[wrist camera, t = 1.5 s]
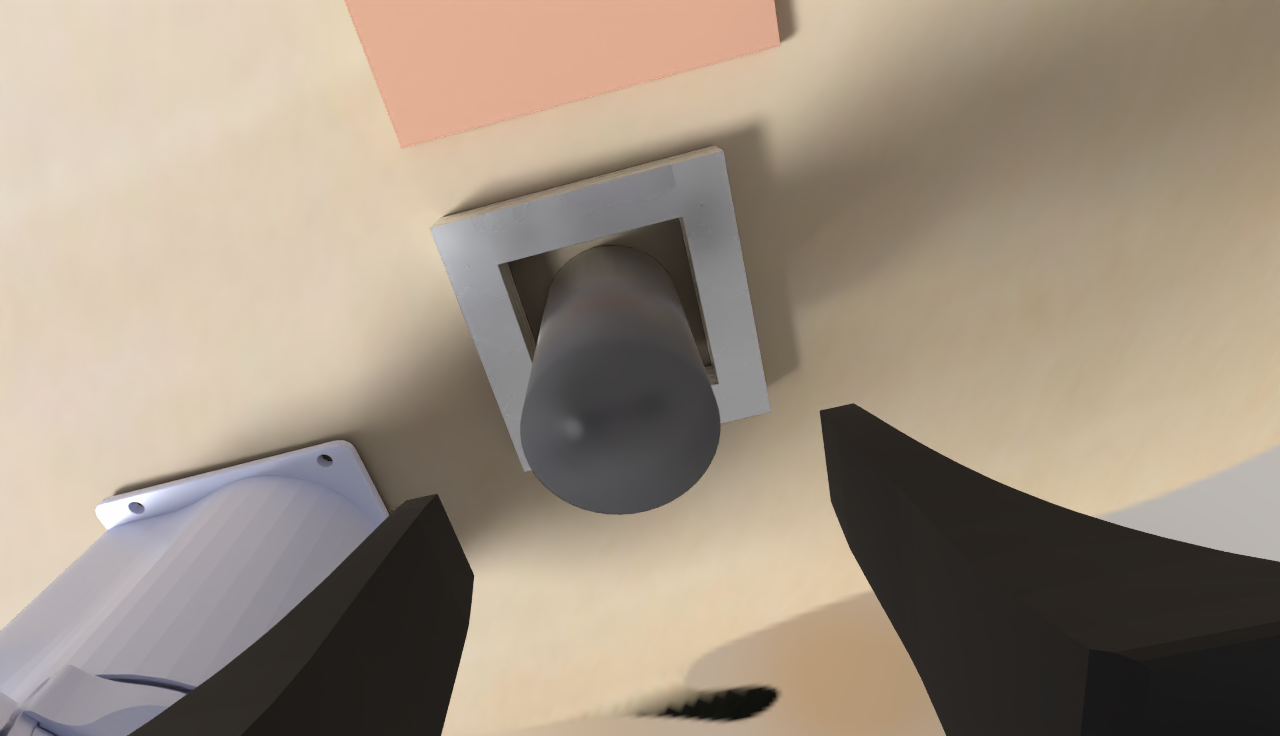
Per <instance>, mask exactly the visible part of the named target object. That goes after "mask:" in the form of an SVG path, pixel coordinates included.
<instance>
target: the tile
mask: <svg viewBox="0 0 1280 736" xmlns="http://www.w3.org/2000/svg"><path fill="white" fill-rule="evenodd" d="M344 1H345V3H346V6H347V8H348V11H349V14H350V16H351V19H352V21H353V24H354V27H355V29H356V32H357V34H358V37H359V40H360V42H361V45H362V47H363V50H364V53H365V55H366V58H367V60H368V63H369V65H370V68H371V71H372V73H373V76H374V78H375V81H376V84H377V86H378V89H379V91H380V94H381V97H382V99H383V102H384V104H385V107H386V110H387V112H388V115H389V117H390V120H391V123H392V125H393V128H394V130H395V133H396V136H397V138H398V141H399V143H400V146H401V148H404V147H408V146H412V145H416V144H419V143H423V142H427V141H430V140H434V139H438V138H441V137H445V136H449V135H452V134H456V133H460V132H464V131H467V130H471V129H475V128H478V127H482V126H486V125H489V124H493V123H497V122H500V121H504V120H508V119H511V118H515V117H519V116H523V115H526V114H530V113H534V112H537V111H541V110H545V109H548V108H552V107H556V106H559V105H563V104H567V103H570V102H574V101H578V100H582V99H585V98H589V97H593V96H596V95H600V94H604V93H607V92H611V91H615V90H618V89H622V88H626V87H630V86H633V85H637V84H641V83H644V82H648V81H652V80H655V79H659V78H663V77H666V76H670V75H674V74H677V73H681V72H685V71H689V70H692V69H696V68H700V67H703V66H707V65H711V64H714V63H718V62H722V61H725V60H729V59H733V58H737V57H740V56H744V55H748V54H751V53H755V52H759V51H762V50H766V49H770V48H773V47H777V46H780V39H779V32H778V25H777V17H776V10H775V3H774V0H344Z"/></svg>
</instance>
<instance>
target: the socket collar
mask: <svg viewBox="0 0 1280 736" xmlns="http://www.w3.org/2000/svg"><path fill="white" fill-rule="evenodd" d="M675 218H679V219H680V224H681V228H682V233H683V237H684V242H685V247H686V251H687V256H688V260H689V265H690V269H691V274H692V278H693V283H694V287H695V292H696V297H697V301H698V306H699V310H700V315H701V319H702V324H703V328H704V333H705V337H706V342H707V347H708V351H709V356H710V360H711V365H709V366H705V367H704V368H705V371H706V373H707V376H708V379H709V382H710V384H711V387H712V390H713V393H714V395H715V398H716V401H717V405H718V408H719V414H720V424H723V423H727V422H731V421H735V420H739V419H744V418H748V417H752V416H756V415H760V414H764V413H768V412H771V409H770V403H769V398H768V392H767V387H766V382H765V376H764V371H763V365H762V360H761V354H760V349H759V343H758V338H757V332H756V327H755V321H754V316H753V310H752V305H751V299H750V294H749V289H748V283H747V278H746V272H745V267H744V261H743V256H742V250H741V245H740V239H739V234H738V228H737V223H736V217H735V212H734V206H733V201H732V195H731V190H730V185H729V179H728V174H727V168H726V163H725V157H724V152H723V150H721V149H720V148H718V147H717V146H715V145H713V146H709V147H705V148H702V149H698V150H694V151H690V152H687V153H683V154H679V155H675V156H671V157H668V158H664V159H660V160H656V161H653V162H649V163H645V164H641V165H637V166H634V167H630V168H626V169H622V170H619V171H615V172H611V173H607V174H604V175H600V176H596V177H592V178H588V179H585V180H581V181H577V182H573V183H570V184H566V185H562V186H558V187H555V188H551V189H547V190H543V191H539V192H536V193H532V194H528V195H524V196H521V197H517V198H513V199H509V200H505V201H502V202H498V203H494V204H490V205H487V206H483V207H479V208H475V209H472V210H468V211H464V212H460V213H456V214H453V215H449V216H445V217H441V218H440V219H439V220H438V221H437V222H436V223H435V224H434V225H433V226H432V227H431V228H430V230H431V233H432V235H433V238H434V241H435V243H436V246H437V248H438V251H439V254H440V256H441V259H442V261H443V264H444V266H445V269H446V272H447V274H448V277H449V279H450V282H451V284H452V287H453V290H454V292H455V295H456V297H457V300H458V303H459V305H460V308H461V310H462V313H463V315H464V318H465V321H466V323H467V326H468V328H469V331H470V334H471V336H472V339H473V341H474V344H475V346H476V349H477V352H478V354H479V357H480V359H481V362H482V365H483V367H484V370H485V372H486V375H487V377H488V380H489V383H490V385H491V388H492V390H493V393H494V396H495V398H496V401H497V403H498V406H499V408H500V411H501V414H502V416H503V419H504V421H505V424H506V427H507V429H508V432H509V434H510V437H511V439H512V442H513V445H514V447H515V450H516V452H517V455H518V457H519V460H520V463H521V465H522V468H523V470H524V472H527V471H531V470H532V469H531V468H530V466H529V464H528V462H527V460H526V458H525V455H524V451H523V448H522V444H521V437H520V422H521V416H522V410H523V405H524V401H525V396H526V391H527V387H528V382H529V378H530V373H531V368H532V364H533V359H534V355H535V350H536V343H535V340H534V338H533V335H532V332H531V329H530V326H529V323H528V320H527V317H526V314H525V311H524V308H523V306H522V303H521V300H520V297H519V294H518V291H517V288H516V285H515V282H514V279H513V276H512V273H511V271H510V268H509V265H508V262H510V261H514V260H518V259H521V258H525V257H529V256H533V255H537V254H541V253H544V252H548V251H552V250H556V249H560V248H564V247H567V246H571V245H575V244H579V243H583V242H587V241H591V240H594V239H598V238H602V237H606V236H610V235H614V234H617V233H621V232H625V231H629V230H633V229H637V228H640V227H644V226H648V225H652V224H656V223H660V222H663V221H667V220H671V219H675Z"/></svg>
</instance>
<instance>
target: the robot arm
mask: <svg viewBox="0 0 1280 736" xmlns="http://www.w3.org/2000/svg"><path fill="white" fill-rule="evenodd" d="M820 417H821V425H822V433H823V441H824V449H825V457H826V465H827V473H828V481H829V489H830V497H831V502H832V505H833V507H834V510H835V513H836V515H837V518H838V520H839V523H840V525H841V528H842V530H843V533H844V535H845V538H846V540H847V542H848V545H849V547H850V549H851V551H852V553H853V555H854V557H855V559H856V560H857V562H858V564H859V566H860V568H861V569H862V571H863V573H864V575H865V577H866V578H867V580H868V582H869V584H870V586H871V587H872V589H873V591H874V593H875V594H876V596H877V598H878V600H879V601H880V603H881V605H882V607H883V609H884V610H885V612H886V614H887V616H888V618H889V619H890V621H891V623H892V625H893V627H894V628H895V630H896V632H897V634H898V635H899V637H900V639H901V641H902V642H903V644H904V646H905V648H906V650H907V652H908V653H909V655H910V657H911V659H912V661H913V663H914V665H915V667H916V669H917V671H918V673H919V675H920V677H921V679H922V681H923V683H924V686H925V688H926V690H927V693H928V695H929V697H930V699H931V702H932V704H933V706H934V708H935V710H936V713H937V715H938V717H939V720H940V722H941V724H942V727H943V729H944V731H945V734H946V736H1280V562H1278V561H1272V560H1267V559H1261V558H1256V557H1250V556H1245V555H1239V554H1233V553H1229V552H1224V551H1219V550H1215V549H1211V548H1206V547H1202V546H1198V545H1194V544H1189V543H1185V542H1181V541H1176V540H1172V539H1168V538H1164V537H1160V536H1156V535H1153V534H1149V533H1145V532H1142V531H1138V530H1134V529H1130V528H1127V527H1123V526H1120V525H1117V524H1114V523H1110V522H1107V521H1104V520H1101V519H1098V518H1094V517H1091V516H1088V515H1085V514H1081V513H1078V512H1075V511H1072V510H1069V509H1066V508H1064V507H1061V506H1058V505H1055V504H1052V503H1049V502H1047V501H1044V500H1042V499H1039V498H1037V497H1034V496H1032V495H1029V494H1026V493H1024V492H1021V491H1019V490H1016V489H1014V488H1011V487H1009V486H1006V485H1004V484H1002V483H999V482H997V481H995V480H993V479H990V478H988V477H986V476H984V475H982V474H980V473H978V472H976V471H974V470H971V469H969V468H967V467H965V466H963V465H961V464H959V463H957V462H955V461H953V460H951V459H949V458H947V457H945V456H943V455H941V454H940V453H938V452H936V451H934V450H932V449H930V448H928V447H927V446H925V445H923V444H921V443H920V442H918V441H916V440H914V439H912V438H911V437H909V436H907V435H906V434H904V433H902V432H900V431H899V430H897V429H895V428H894V427H892V426H890V425H889V424H887V423H885V422H884V421H882V420H880V419H879V418H877V417H876V416H874V415H872V414H871V413H869V412H867V411H866V410H864V409H862V408H861V407H859V406H857V405H855V404H854V403H853V404H849V405H844V406H839V407H835V408H830V409H826V410H821V411H820ZM322 455H328V456H330V457H331V458H332V461H327V460H325V459H324V458H323V457H322ZM136 502H138V503H141V504H142V505H143V506H144V507H142V506H140V505H138V504H137V503H136ZM96 514H97V517H98V518H99V519H100V521H101V522H102V523H103V525H104V526H105V527H106V529H107V531H106V532H105V533H104V534H103V535H102V536H101V537H100V538H99V539H98V540H97V541H96V542H95V543H94V544H92V545H91V546H90V547H89V548H88V549H87V550H86V551H85V552H84V553H83V554H82V555H81V556H80V557H79V558H78V559H77V560H75V561H74V562H73V563H72V564H71V565H70V566H69V567H68V568H67V569H66V570H65V571H64V572H63V573H62V574H61V575H59V576H58V577H57V578H56V579H55V580H54V581H53V582H52V583H51V584H50V585H49V586H48V587H47V588H46V589H45V590H44V591H42V592H41V593H40V594H39V595H38V596H37V597H36V598H35V599H34V600H33V601H32V602H31V603H30V604H29V605H28V606H26V607H25V608H24V609H23V610H22V611H21V612H20V613H19V614H18V615H17V616H16V617H15V618H14V619H13V620H12V621H10V622H9V623H8V624H7V625H6V626H5V627H4V628H3V629H2V630H1V631H0V736H441V733H442V729H443V726H444V722H445V718H446V714H447V710H448V706H449V702H450V698H451V695H452V691H453V687H454V683H455V679H456V675H457V671H458V667H459V663H460V659H461V655H462V651H463V647H464V643H465V639H466V635H467V631H468V626H469V619H470V611H471V603H472V593H473V582H474V574H473V572H472V570H471V567H470V565H469V563H468V561H467V559H466V556H465V554H464V552H463V550H462V547H461V545H460V543H459V541H458V538H457V536H456V534H455V532H454V530H453V527H452V525H451V523H450V521H449V518H448V516H447V514H446V512H445V510H444V507H443V505H442V503H441V501H440V498H439V496H438V494H434V495H430V496H425V497H420V498H416V499H411V500H407V501H405V502H404V503H403V504H402V505H401V506H399V507H398V508H397V509H396V510H395V511H394V512H393V513H392V514H390V515H389V513H388V511H387V509H386V507H385V505H384V503H383V501H382V499H381V497H380V496H379V494H378V492H377V490H376V488H375V486H374V484H373V482H372V480H371V478H370V476H369V474H368V472H367V470H366V468H365V466H364V464H363V462H362V460H361V458H360V456H359V454H358V453H357V451H356V449H355V447H354V446H353V445H352V444H351V443H349V442H347V441H344V440H335V441H331V442H327V443H323V444H319V445H315V446H311V447H307V448H303V449H299V450H295V451H291V452H287V453H283V454H279V455H275V456H271V457H267V458H263V459H259V460H255V461H251V462H247V463H243V464H239V465H235V466H231V467H227V468H223V469H219V470H215V471H212V472H208V473H204V474H200V475H196V476H192V477H188V478H184V479H180V480H176V481H172V482H168V483H164V484H160V485H156V486H152V487H148V488H144V489H140V490H136V491H132V492H128V493H124V494H120V495H116V496H112V497H108V498H106V499H104V500H103V501H102V502H100V503H99V504H98V505H97V507H96Z"/></svg>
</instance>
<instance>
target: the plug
mask: <svg viewBox="0 0 1280 736" xmlns="http://www.w3.org/2000/svg"><path fill="white" fill-rule="evenodd" d="M520 437H521V444H522V448H523V451H524V455H525V458H526V460H527V462H528V464H529V466H530V468H531V469H532V471H533V472H534V474H535V475H536V477H537V478H538V479H539V480H540V481H541V483H542V484H543V485H544V486H545V487H546V488H547V489H549V490H550V491H551V492H552V493H553V494H555V495H556V496H558V497H559V498H561V499H562V500H564V501H566V502H568V503H570V504H572V505H574V506H576V507H579V508H582V509H584V510H588V511H592V512H596V513H603V514H619V515H621V514H634V513H639V512H644V511H648V510H651V509H655V508H658V507H660V506H662V505H665V504H667V503H669V502H671V501H673V500H674V499H676V498H678V497H679V496H681V495H682V494H684V493H685V492H686V491H688V490H689V489H690V488H691V487H692V486H693V485H694V484H695V483H696V482H697V481H698V480H699V479H700V478H701V477H702V475H703V474H704V473H705V471H706V470H707V468H708V467H709V465H710V464H711V461H712V459H713V457H714V455H715V453H716V449H717V446H718V443H719V437H720V414H719V408H718V405H717V401H716V398H715V395H714V393H713V390H712V387H711V384H710V382H709V379H708V376H707V373H706V371H705V368H704V365H703V362H702V360H701V357H700V354H699V351H698V349H697V346H696V343H695V340H694V338H693V335H692V332H691V329H690V327H689V324H688V321H687V318H686V316H685V313H684V310H683V307H682V305H681V302H680V299H679V297H678V294H677V291H676V288H675V286H674V284H673V281H672V279H671V278H670V276H669V274H668V273H667V271H666V270H665V269H664V268H663V267H662V266H661V265H660V264H659V263H658V262H657V261H656V260H655V259H653V258H652V257H650V256H649V255H647V254H645V253H643V252H641V251H639V250H636V249H633V248H630V247H625V246H617V245H608V246H600V247H595V248H592V249H589V250H586V251H584V252H582V253H580V254H578V255H576V256H575V257H573V258H572V259H570V260H569V261H568V262H567V263H566V264H565V265H564V266H563V267H562V268H561V269H560V270H559V271H558V273H557V274H556V276H555V278H554V279H553V281H552V283H551V285H550V288H549V291H548V295H547V299H546V304H545V308H544V313H543V318H542V322H541V327H540V332H539V336H538V341H537V345H536V350H535V355H534V359H533V364H532V368H531V373H530V378H529V382H528V387H527V391H526V396H525V401H524V405H523V410H522V416H521V422H520Z"/></svg>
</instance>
